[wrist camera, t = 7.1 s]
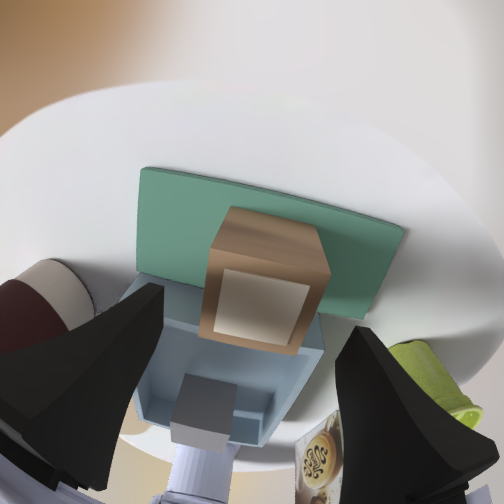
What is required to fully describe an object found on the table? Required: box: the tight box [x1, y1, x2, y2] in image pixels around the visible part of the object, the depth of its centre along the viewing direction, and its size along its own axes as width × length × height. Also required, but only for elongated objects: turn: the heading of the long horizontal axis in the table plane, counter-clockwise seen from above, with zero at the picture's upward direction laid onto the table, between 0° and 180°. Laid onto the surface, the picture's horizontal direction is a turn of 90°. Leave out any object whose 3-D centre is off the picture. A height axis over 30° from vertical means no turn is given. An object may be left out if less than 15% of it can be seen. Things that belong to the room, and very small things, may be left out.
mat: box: [136, 167, 404, 320], centre depth 16 cm, size 6×15×1 cm, turn 78°
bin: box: [118, 273, 325, 448], centre depth 20 cm, size 15×12×4 cm
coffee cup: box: [0, 259, 94, 354], centre depth 13 cm, size 10×10×15 cm
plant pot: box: [388, 340, 483, 430], centre depth 16 cm, size 9×9×9 cm
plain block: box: [170, 373, 237, 453], centre depth 20 cm, size 4×4×5 cm
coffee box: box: [295, 410, 344, 504], centre depth 18 cm, size 9×6×16 cm
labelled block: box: [198, 206, 332, 356], centre depth 13 cm, size 4×4×5 cm
